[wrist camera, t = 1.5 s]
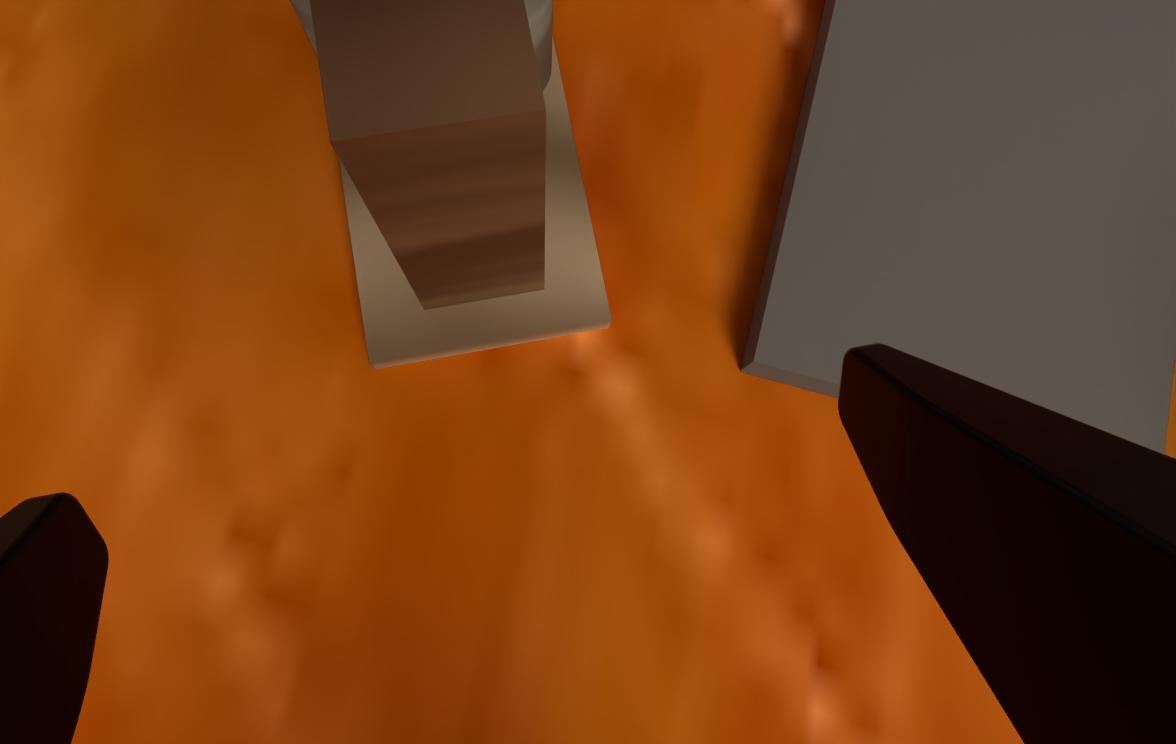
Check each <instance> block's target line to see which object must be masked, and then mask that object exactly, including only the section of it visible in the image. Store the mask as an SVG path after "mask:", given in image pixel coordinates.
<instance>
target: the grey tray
mask: <svg viewBox="0 0 1176 744" xmlns="http://www.w3.org/2000/svg"><path fill="white" fill-rule="evenodd" d="M874 343H882V344H885V345H887V346H890V347H892V348H895V349H898V350H900V351H903V352H905V353H908V354H910V355H913V356H915V357H918V358H920V359H923V360H925V361H928V362H931V363H933V364H936V365H938V366H941V367H943V368H946V369H948V370H951V371H953V372H956V373H958V374H961V375H964V376H966V377H969V378H971V379H974V380H976V381H979V382H981V383H984V384H986V385H989V386H992V387H994V388H997V389H999V390H1002V391H1004V392H1007V393H1009V394H1012V395H1014V396H1017V397H1019V398H1022V399H1025V400H1027V401H1030V402H1032V403H1035V404H1037V405H1040V406H1042V407H1045V408H1047V409H1050V410H1052V411H1055V412H1058V413H1060V414H1063V415H1065V416H1068V417H1070V418H1073V419H1075V420H1078V421H1080V422H1083V423H1085V424H1088V425H1091V426H1093V427H1096V428H1098V429H1101V430H1103V431H1106V432H1108V433H1111V434H1113V435H1116V436H1118V437H1121V438H1124V439H1126V440H1129V441H1131V442H1134V443H1136V444H1139V445H1141V446H1144V447H1146V448H1149V449H1151V450H1154V451H1157V452H1159V453H1162V454H1164V452H1165V444H1166V435H1167V426H1168V417H1169V408H1170V399H1171V390H1172V381H1173V372H1174V363H1175V354H1176V0H826V2H825V6H824V10H823V15H822V19H821V23H820V28H819V32H818V36H817V41H816V45H815V49H814V54H813V58H812V62H811V67H810V71H809V75H808V80H807V84H806V88H805V93H804V97H803V101H802V106H801V110H800V114H799V119H798V123H797V127H796V132H795V136H794V140H793V145H792V149H791V153H790V158H789V162H788V166H787V171H786V175H785V179H784V184H783V188H782V192H781V197H780V201H779V205H778V210H777V214H776V218H775V223H774V227H773V231H772V236H771V240H770V244H769V249H768V253H767V257H766V262H765V266H764V270H763V275H762V279H761V283H760V288H759V292H758V296H757V301H756V305H755V309H754V313H753V318H752V322H751V326H750V331H749V335H748V339H747V344H746V348H745V352H744V357H743V361H742V365H741V370H740V371H741V372H744V373H748V374H752V375H755V376H759V377H763V378H766V379H770V380H774V381H777V382H781V383H784V384H788V385H792V386H795V387H799V388H803V389H806V390H810V391H814V392H817V393H821V394H825V395H828V396H832V397H835V398H839V390H840V382H841V373H842V364H843V358H844V355H845V353H846V352H847V351H848V350H849V349H850V348H853V347H858V346H864V345H869V344H874Z"/></svg>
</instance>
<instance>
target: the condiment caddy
mask: <svg viewBox="0 0 1176 744" xmlns="http://www.w3.org/2000/svg"><path fill="white" fill-rule="evenodd" d="M290 1H291V3H292V5H293V7H294V9H295V11H296V13H297V15H298V17H299V20H300V22H301V24H302V26H303V28H304V30H305V32H306V34H307V36H308V38H309V40H310V42H311V44H312V46H313V49H314V51H315V53H316V55H317V57H318V61H319V68H320V75H321V82H322V88H323V95H324V102H325V109H326V116H327V122H328V129H329V136H330V142H331V144H332V146H333V147H334V149H335V151H336V153H337V154H338V156H339V163H340V170H341V176H342V183H343V190H344V197H345V203H346V210H347V217H348V224H349V230H350V237H351V244H352V251H353V257H354V264H355V271H356V278H357V284H358V291H359V298H360V305H361V311H362V318H363V325H364V332H365V338H366V345H367V352H368V359H369V363H370V364H371V365H372V366H373V367H374V368H375V369H379V368H385V367H391V366H396V365H402V364H408V363H413V362H419V361H425V360H430V359H436V358H441V357H447V356H453V355H458V354H464V353H470V352H475V351H481V350H487V349H492V348H498V347H504V346H509V345H515V344H521V343H526V342H532V341H537V340H543V339H549V338H554V337H560V336H566V335H571V334H577V333H583V332H588V331H594V330H600V329H605V328H609V327H610V324H611V321H612V319H611V314H610V310H609V305H608V300H607V295H606V290H605V286H604V281H603V276H602V271H601V266H600V261H599V257H598V252H597V247H596V242H595V237H594V233H593V228H592V223H591V218H590V213H589V209H588V204H587V199H586V194H585V189H584V184H583V180H582V175H581V170H580V165H579V160H578V156H577V151H576V146H575V141H574V136H573V132H572V127H571V122H570V117H569V112H568V107H567V103H566V98H565V93H564V88H563V83H562V79H561V74H560V69H559V64H558V59H557V55H556V50H555V45H554V40H553V35H552V27H553V0H290Z"/></svg>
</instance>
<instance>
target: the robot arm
mask: <svg viewBox="0 0 1176 744" xmlns="http://www.w3.org/2000/svg"><path fill="white" fill-rule="evenodd" d="M838 410H839V415H840V419H841V421H842V424H843V426H844V428H845V430H846V432H847V435H848V437H849V439H850V441H851V443H852V445H853V448H854V450H855V452H856V454H857V456H858V458H859V460H860V463H861V465H862V467H863V469H864V471H865V473H866V475H867V478H868V480H869V482H870V484H871V486H872V488H873V491H874V493H875V495H876V497H877V499H878V501H879V503H880V506H881V508H882V510H883V512H884V514H885V516H886V518H887V520H888V522H889V523H890V525H891V527H892V529H893V530H894V532H895V534H896V535H897V537H898V539H899V541H900V542H901V544H902V545H903V547H904V549H905V550H906V552H907V554H908V555H909V557H910V558H911V560H912V562H913V563H914V565H915V567H916V568H917V570H918V571H919V573H920V575H921V576H922V578H923V580H924V581H925V583H926V584H927V586H928V588H929V589H930V591H931V593H932V594H933V596H934V597H935V599H936V601H937V602H938V604H939V606H940V607H941V609H942V610H943V612H944V614H945V615H946V617H947V619H948V620H949V622H950V623H951V625H952V627H953V628H954V630H955V632H956V633H957V635H958V636H959V638H960V640H961V641H962V643H963V645H964V646H965V648H966V649H967V651H968V653H969V654H970V656H971V658H972V659H973V661H974V662H975V664H976V666H977V667H978V669H979V671H980V672H981V674H982V675H983V677H984V679H985V680H986V682H987V684H988V685H989V687H990V688H991V690H992V692H993V693H994V695H995V697H996V698H997V700H998V701H999V703H1000V705H1001V706H1002V708H1003V710H1004V711H1005V713H1006V714H1007V716H1008V718H1009V719H1010V721H1011V722H1012V724H1013V726H1014V727H1015V729H1016V731H1017V732H1018V734H1019V735H1020V737H1021V739H1022V740H1023V742H1024V744H1176V459H1174V458H1172V457H1169V456H1167V455H1164V454H1162V453H1159V452H1157V451H1154V450H1151V449H1149V448H1146V447H1144V446H1141V445H1139V444H1136V443H1134V442H1131V441H1129V440H1126V439H1124V438H1121V437H1118V436H1116V435H1113V434H1111V433H1108V432H1106V431H1103V430H1101V429H1098V428H1096V427H1093V426H1091V425H1088V424H1085V423H1083V422H1080V421H1078V420H1075V419H1073V418H1070V417H1068V416H1065V415H1063V414H1060V413H1058V412H1055V411H1052V410H1050V409H1047V408H1045V407H1042V406H1040V405H1037V404H1035V403H1032V402H1030V401H1027V400H1025V399H1022V398H1019V397H1017V396H1014V395H1012V394H1009V393H1007V392H1004V391H1002V390H999V389H997V388H994V387H992V386H989V385H986V384H984V383H981V382H979V381H976V380H974V379H971V378H969V377H966V376H964V375H961V374H958V373H956V372H953V371H951V370H948V369H946V368H943V367H941V366H938V365H936V364H933V363H931V362H928V361H925V360H923V359H920V358H918V357H915V356H913V355H910V354H908V353H905V352H903V351H900V350H898V349H895V348H892V347H890V346H887V345H885V344H882V343H874V344H869V345H864V346H858V347H853V348H850V349H849V350H848V351H847V352H846V353H845V355H844V358H843V364H842V373H841V382H840V390H839V399H838ZM108 561H109V559H108V550H107V547H106V544H105V542H104V540H103V538H102V537H101V535H100V534H99V532H98V530H97V529H96V527H95V526H94V524H93V523H92V521H91V520H90V518H89V517H88V515H87V514H86V512H85V510H84V509H83V507H82V506H81V504H80V503H79V501H78V500H77V499H76V498H75V497H74V496H72V495H71V494H68V493H64V492H63V493H56V494H50V495H45V496H39V497H34V498H30V499H27V500H25V501H23V502H21V503H20V504H19V505H17V506H16V507H15V508H13V509H12V510H10V511H9V512H8V513H6V514H5V515H4V516H2V517H1V518H0V744H71V742H72V738H73V735H74V732H75V728H76V725H77V721H78V718H79V714H80V711H81V707H82V703H83V700H84V696H85V692H86V688H87V683H88V679H89V674H90V669H91V664H92V658H93V652H94V646H95V640H96V634H97V628H98V622H99V617H100V611H101V605H102V599H103V593H104V587H105V581H106V575H107V569H108Z"/></svg>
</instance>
